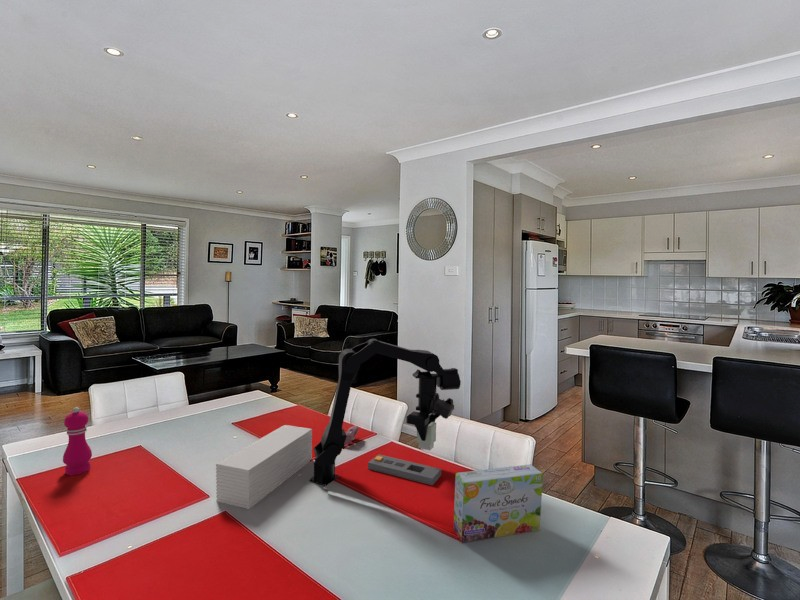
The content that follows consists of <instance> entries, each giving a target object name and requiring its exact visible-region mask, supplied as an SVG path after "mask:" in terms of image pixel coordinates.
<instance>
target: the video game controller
mask: <svg viewBox="0 0 800 600" xmlns="http://www.w3.org/2000/svg"><path fill="white" fill-rule="evenodd" d="M359 430H360V427H358V426H357V425H353V426H350V427H349V428H348V429H347V430H346V431H345V433H346V435H347V437H346V440H345V443H344V446H346V445H350V444H351V442H353V441H354V440H355V437H356V435H357V434H358V433H359Z"/></svg>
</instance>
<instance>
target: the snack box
mask: <svg viewBox="0 0 800 600" xmlns="http://www.w3.org/2000/svg"><path fill="white" fill-rule="evenodd" d="M543 478H544V473H543V472H542V471H540V470H539V469H538V468H537V467H535V466H534V465H533V464H524V465H523V464H522V465H513V466H504V467H497V468H487V469H480V470H479V469H478V470H472V471H471V470H470V471H461V472H460V471H459V472H456V473H455V477H454V479H455V480H454V502H453V503H454V506H453V507H454V508H453V531H454V533H455V532H456V533H457V535H458V536H459V538H460V539H459V538H458V539H459V541H460V540H461V541H460V542H461V544H463V543H469V542H474V541H480V540H487V539H493V538H499V537H506V536H507V537H508V536H510V535H511V536H512V535H519V534H525V533H531V532H537V531H540V530H541V515H542V514H541V513H542V500H543V499H542V497H543V484H544V483H543V482H544V481H543V480H544V479H543ZM456 533H455V534H456ZM457 535H456V536H457ZM458 536H457V537H458Z"/></svg>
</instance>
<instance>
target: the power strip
mask: <svg viewBox="0 0 800 600" xmlns="http://www.w3.org/2000/svg"><path fill="white" fill-rule="evenodd" d="M367 469H368V470H370V471H374V472H378V473H383V474H386V475H391V476H394V477H399V478H401V479H402V478H403V479H406V480H410V481H413V482H418V483H422V484H426V485H430V486H433V485H434V484H435V483H436V482H437V481H439V478H440V477H441V476H442V468H438V467H434V466H430V465H427V464H426V465H425V464H422V463H417V462H413V461H408V460H406V459H405V460H404V459H399V458H396V457H392V456H387V455H384V454H377V455H376V456H375V457H373V458H372V459H370V460H369V461H368V462H367Z"/></svg>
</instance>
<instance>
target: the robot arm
mask: <svg viewBox="0 0 800 600" xmlns="http://www.w3.org/2000/svg"><path fill="white" fill-rule="evenodd" d="M377 354H379V355H382V356H386V357H389V358H392V359H397V360H399V361H402V362H403V361H404V362H407V363H411V364H413V365H414V366H417V367H418V369H417V368H416V369H417V370H416V371H415V372H413V373H412V377H413V378H415V379H418V392H417V393H416V394H415V397H416V398H417V399H418V401H417V406H415V411H412V412H411V413H409V414H407V416H406V419H405V422H406V424H408V425H412V426H414V427H415V428H416V432H417V431H418V433H419V435H420V437H421V440H422V441H425V440H426V434H427V428H428V425H429V424H430V423H431V422H435V423H436V420H437V419H438V418H439V417H440V416H441V418H443V419H445V420H447V419H448V418H450V417H451V416H452V414H453V411H454V409H455V404H454V399H452V398H450V397H449V398H447V399H446V400H445V399H444V398H443V399H441V398H440V394H439V392H437V388H439V389H440V390H441V391H451V390H459V389H460V388H461V382H462V381H461V378H460V375H459V369H458V368H456V367H452V368H443V367H442V365H441V364H440V359H439V356H438V355H436V354H435V353H433V352H432V351H429V350H425V349H409V348H407V347H403V346H399V345H396V344H391V343H387V342H384V341H382V340H378V339H376V338H370V339H368V340H367V341H365V342H363V343H359V344H357V345H356V346H354V347H352V348H345V349H343V350H342V351H341V352H340V353H339V355H338V380H337V386H336V388H335V393H334V399H333V402H332V403H333V404H332V407H331V413H330V417H329V421H328V423H327V425H326V427H325V428H324V431H323V433H322V436H321V438H320V441H319V442H318V443H317V444H316V446H315V447H313V452H314V457H315V459H314V461H313V476H312V477H310V478H309V481H310V482H313V483H316V484H319V485H323V486H328V485H329V484H331V483H332V482H333V481H335V480H337V479H338V478H339V474H336V460H337V457H338V456H339V455H340V454H341V453H342V451H343V450H345V445H344V443H345V440H346V437H347V435H346V431H345V428H343V424H344V421H345V416H346V415H345V414H346V412H347V406H348V401H349V397H350V392H351V387H352V383H353V381H354V379H355V377H356V376H357V375H358V371H359V369H360V367H361V364H364V363H365V362H367V361H369V359H370V358H372V357H373V356H374V355H377ZM419 368H420V369H423V370H424V371H421V370H420V369H419ZM433 372H434V373H433Z"/></svg>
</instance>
